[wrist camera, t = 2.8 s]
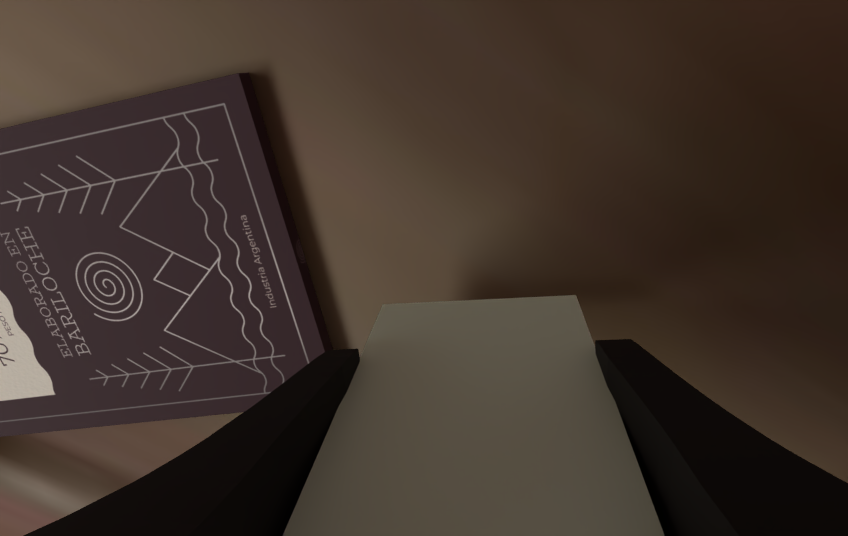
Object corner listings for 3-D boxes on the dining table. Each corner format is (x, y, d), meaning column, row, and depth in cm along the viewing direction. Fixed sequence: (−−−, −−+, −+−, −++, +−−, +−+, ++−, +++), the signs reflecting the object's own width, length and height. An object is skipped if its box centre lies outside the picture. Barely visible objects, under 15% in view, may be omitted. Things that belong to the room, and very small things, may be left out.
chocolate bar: (340, 402, 15) (-144, 451, 18) (348, 382, 16) (-115, 433, 19) (238, 73, 12) (-325, 205, 15) (255, 72, 13) (-280, 196, 16)
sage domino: (576, 353, 12) (677, 695, 6) (391, 359, 13) (289, 671, 6) (575, 295, 11) (687, 596, 5) (382, 304, 12) (261, 583, 6)
